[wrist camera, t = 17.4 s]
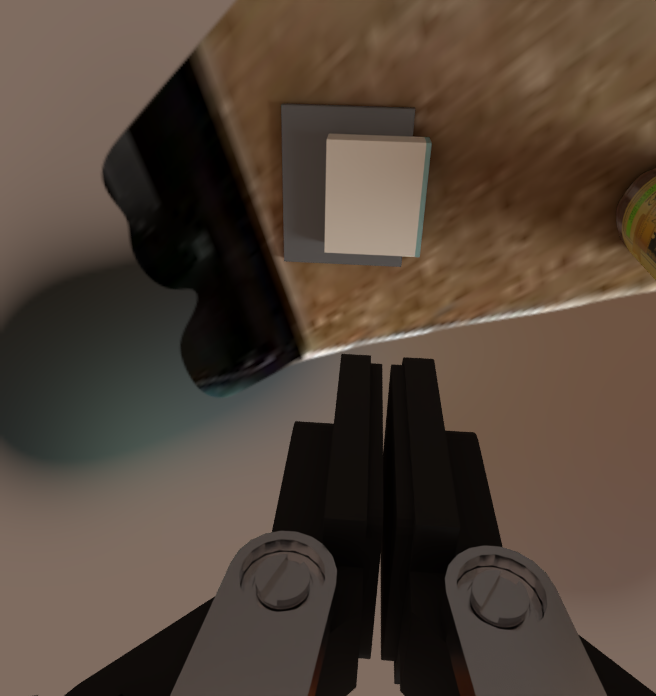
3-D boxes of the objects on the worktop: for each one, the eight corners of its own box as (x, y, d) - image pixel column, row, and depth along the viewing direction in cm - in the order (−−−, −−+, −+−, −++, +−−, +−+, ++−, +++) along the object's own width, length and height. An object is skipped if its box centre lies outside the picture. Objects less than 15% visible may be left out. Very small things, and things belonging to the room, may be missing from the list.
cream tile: (326, 242, 39) (417, 247, 39) (324, 252, 38) (419, 257, 37) (328, 133, 36) (429, 137, 35) (326, 139, 34) (431, 143, 34)
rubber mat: (414, 107, 35) (415, 109, 35) (400, 263, 40) (401, 266, 40) (282, 103, 36) (281, 105, 35) (285, 258, 41) (284, 261, 40)
